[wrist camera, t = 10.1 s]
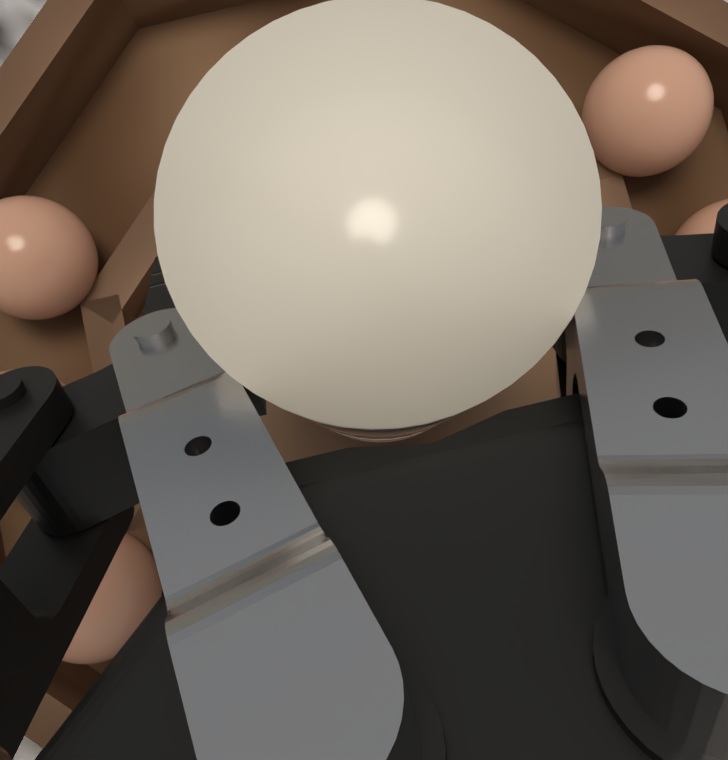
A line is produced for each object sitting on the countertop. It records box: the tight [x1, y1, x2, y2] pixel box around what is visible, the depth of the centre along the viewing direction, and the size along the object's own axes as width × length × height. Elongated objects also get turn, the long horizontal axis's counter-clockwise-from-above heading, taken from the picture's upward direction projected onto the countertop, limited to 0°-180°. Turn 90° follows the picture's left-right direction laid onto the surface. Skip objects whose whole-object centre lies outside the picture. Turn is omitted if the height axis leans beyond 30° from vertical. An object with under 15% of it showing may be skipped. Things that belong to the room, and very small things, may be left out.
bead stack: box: [154, 0, 602, 443], centre depth 11 cm, size 4×4×10 cm
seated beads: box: [0, 45, 728, 664], centre depth 16 cm, size 20×11×3 cm, turn 103°
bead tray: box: [0, 0, 728, 748], centre depth 17 cm, size 23×23×3 cm
